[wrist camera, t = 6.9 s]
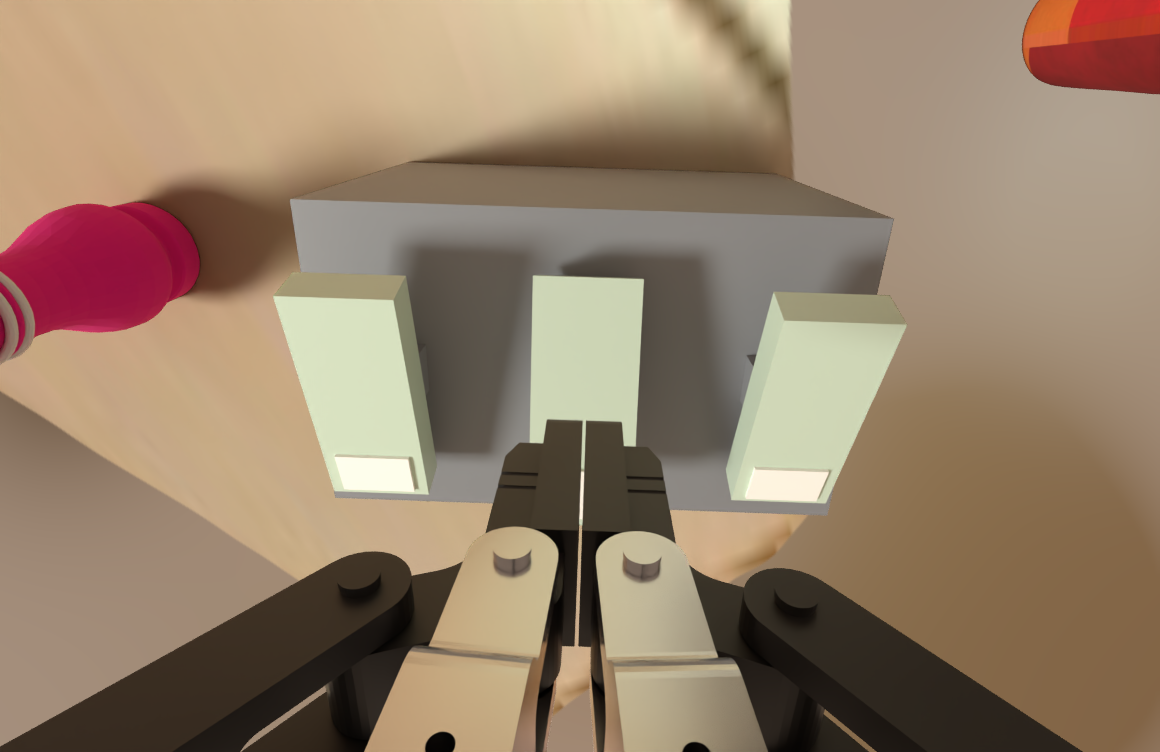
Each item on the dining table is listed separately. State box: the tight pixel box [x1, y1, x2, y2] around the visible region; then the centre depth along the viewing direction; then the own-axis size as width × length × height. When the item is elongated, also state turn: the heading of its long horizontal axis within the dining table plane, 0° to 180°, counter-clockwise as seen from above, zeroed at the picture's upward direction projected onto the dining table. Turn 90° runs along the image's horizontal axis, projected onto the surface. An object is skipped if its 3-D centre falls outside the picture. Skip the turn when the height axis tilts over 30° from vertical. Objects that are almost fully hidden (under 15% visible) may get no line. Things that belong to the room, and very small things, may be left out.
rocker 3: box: [726, 292, 907, 503], centre depth 23 cm, size 9×4×2 cm, turn 179°
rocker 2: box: [530, 275, 644, 525], centre depth 23 cm, size 9×4×2 cm, turn 178°
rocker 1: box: [273, 272, 437, 495], centre depth 23 cm, size 9×4×2 cm, turn 178°
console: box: [290, 162, 894, 515], centre depth 32 cm, size 13×22×17 cm, turn 88°
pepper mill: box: [0, 203, 200, 364], centre depth 31 cm, size 7×7×20 cm
